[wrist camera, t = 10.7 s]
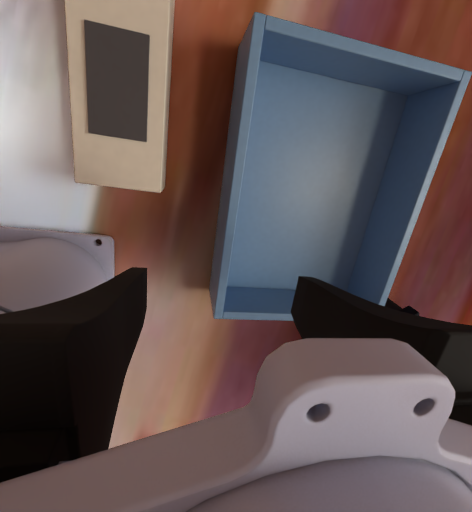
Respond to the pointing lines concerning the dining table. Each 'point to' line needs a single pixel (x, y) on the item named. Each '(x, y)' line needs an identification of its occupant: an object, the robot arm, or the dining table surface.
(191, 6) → the dining table surface
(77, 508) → the robot arm
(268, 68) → the box
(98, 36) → the remote
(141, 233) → the dining table surface
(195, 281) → the dining table surface
